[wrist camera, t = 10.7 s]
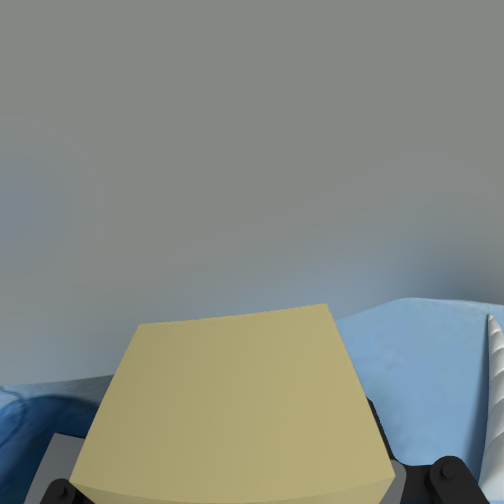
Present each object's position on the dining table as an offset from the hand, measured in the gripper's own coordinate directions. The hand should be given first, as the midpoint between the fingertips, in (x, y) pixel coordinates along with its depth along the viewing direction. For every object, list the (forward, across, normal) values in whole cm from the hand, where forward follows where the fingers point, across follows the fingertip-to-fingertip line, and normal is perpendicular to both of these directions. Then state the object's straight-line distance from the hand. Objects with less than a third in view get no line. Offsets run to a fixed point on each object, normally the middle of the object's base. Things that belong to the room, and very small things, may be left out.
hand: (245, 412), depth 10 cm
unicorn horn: (+4, -20, +11) cm, 24 cm away
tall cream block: (-2, 0, +6) cm, 6 cm away
